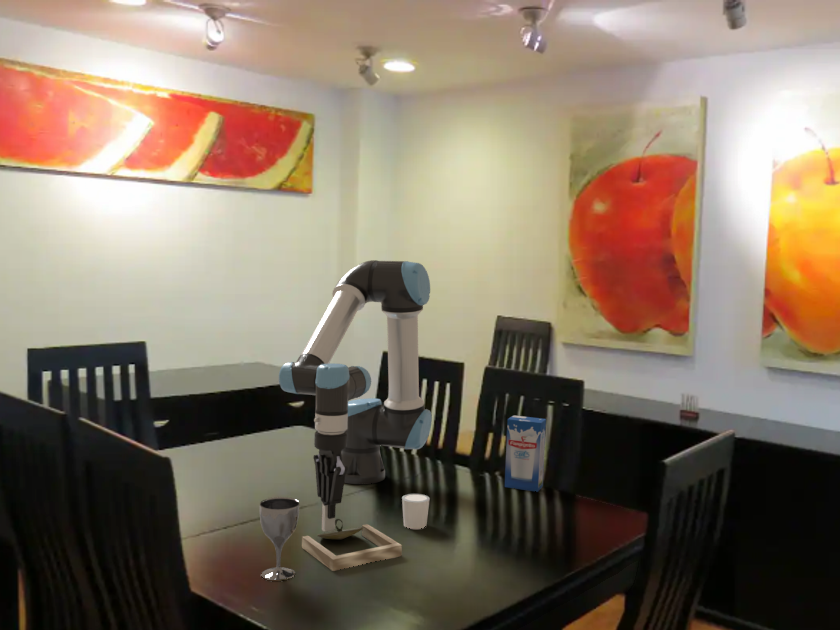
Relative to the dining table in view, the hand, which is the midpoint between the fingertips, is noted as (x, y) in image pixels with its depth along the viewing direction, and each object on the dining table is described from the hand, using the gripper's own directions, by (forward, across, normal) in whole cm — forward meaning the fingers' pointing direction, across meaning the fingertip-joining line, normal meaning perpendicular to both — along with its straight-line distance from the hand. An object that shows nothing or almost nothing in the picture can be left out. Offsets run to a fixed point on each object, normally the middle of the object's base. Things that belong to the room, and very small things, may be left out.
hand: (328, 530), depth 184 cm
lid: (+2, +4, +1) cm, 4 cm away
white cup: (+2, +3, +22) cm, 22 cm away
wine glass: (+2, +14, -19) cm, 24 cm away
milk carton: (+2, -9, +68) cm, 69 cm away
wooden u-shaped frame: (+2, +10, 0) cm, 11 cm away
